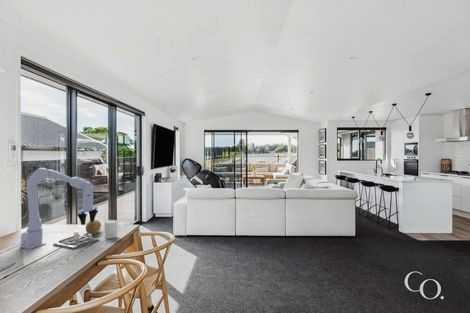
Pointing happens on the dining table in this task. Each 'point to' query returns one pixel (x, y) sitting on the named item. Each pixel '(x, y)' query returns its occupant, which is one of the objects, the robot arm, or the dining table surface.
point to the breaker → (76, 237)
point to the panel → (76, 244)
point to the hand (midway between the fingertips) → (87, 223)
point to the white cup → (111, 228)
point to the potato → (93, 227)
